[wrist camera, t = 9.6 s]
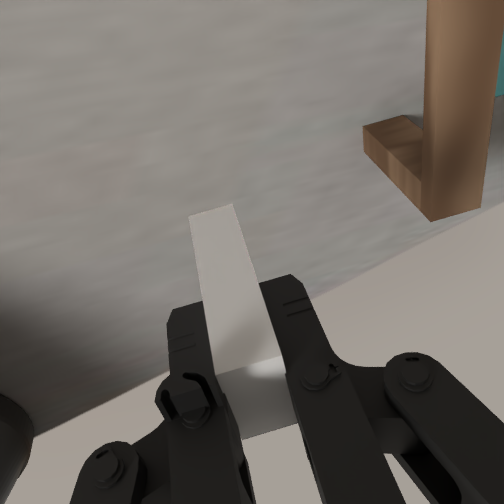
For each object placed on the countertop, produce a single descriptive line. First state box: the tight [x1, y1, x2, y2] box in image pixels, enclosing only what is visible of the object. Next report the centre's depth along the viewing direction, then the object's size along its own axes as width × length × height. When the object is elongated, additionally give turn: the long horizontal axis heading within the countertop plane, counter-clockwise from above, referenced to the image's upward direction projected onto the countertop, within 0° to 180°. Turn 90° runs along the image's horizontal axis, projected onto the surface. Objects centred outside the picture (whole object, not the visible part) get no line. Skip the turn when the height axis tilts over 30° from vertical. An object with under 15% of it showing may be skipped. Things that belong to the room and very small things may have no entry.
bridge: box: [363, 0, 504, 222], centre depth 25 cm, size 3×15×10 cm, turn 12°
